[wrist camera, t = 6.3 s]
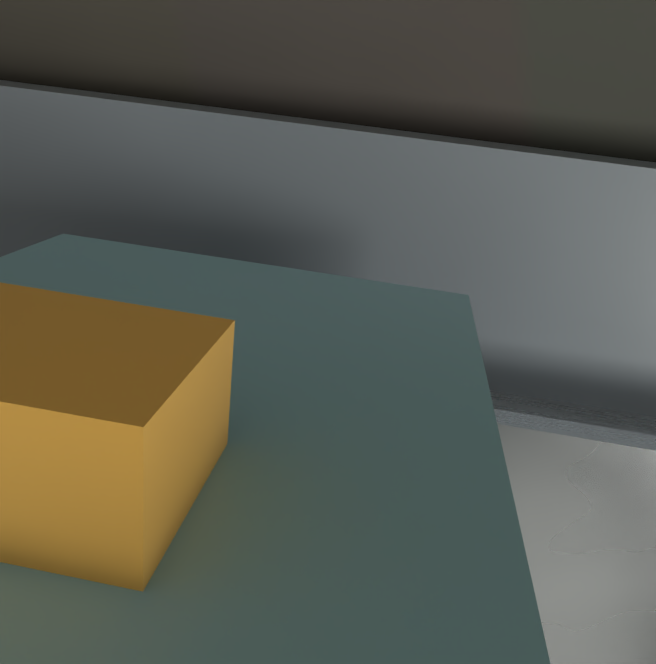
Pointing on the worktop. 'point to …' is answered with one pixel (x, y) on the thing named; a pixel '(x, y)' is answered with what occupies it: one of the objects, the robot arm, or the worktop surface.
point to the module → (248, 468)
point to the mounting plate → (363, 220)
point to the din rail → (586, 524)
